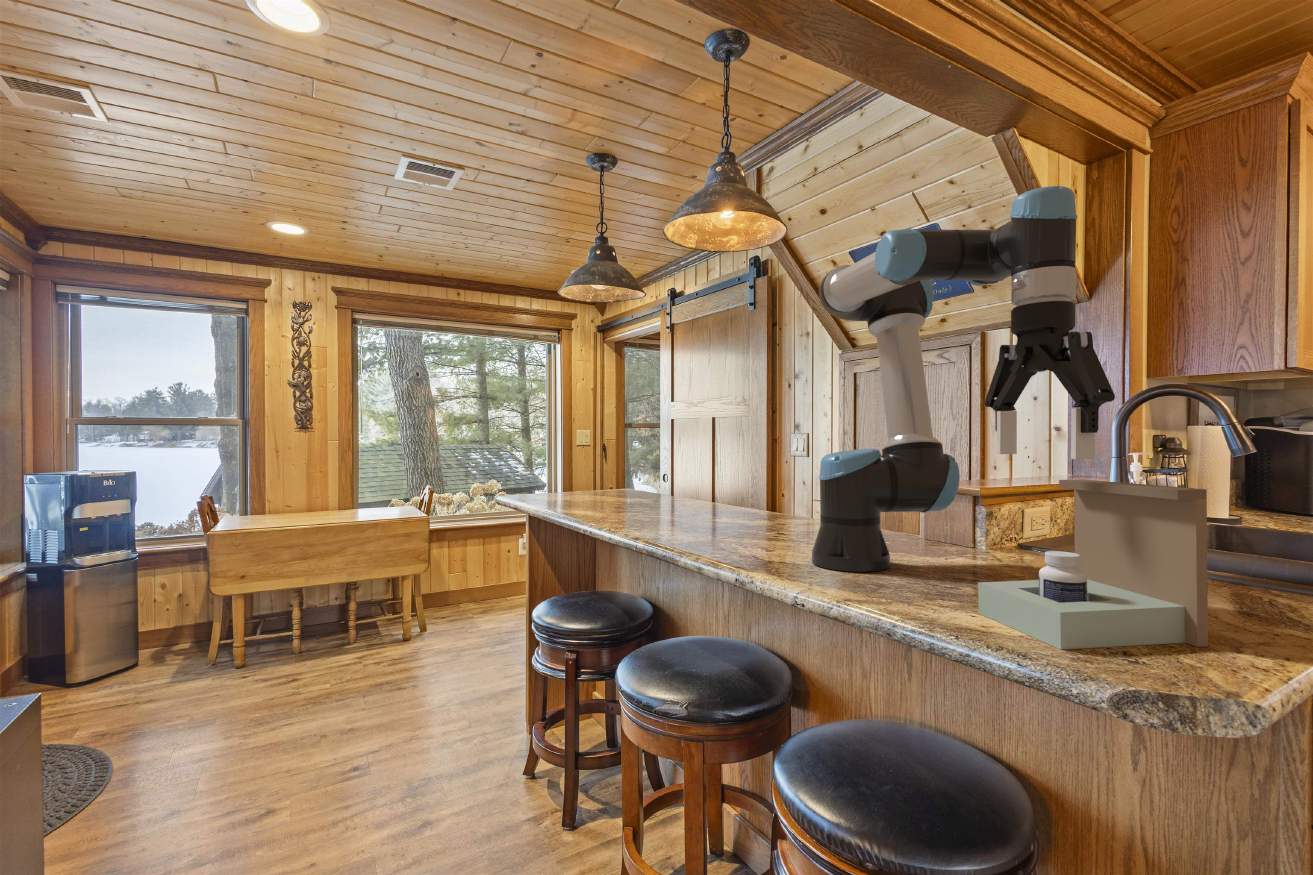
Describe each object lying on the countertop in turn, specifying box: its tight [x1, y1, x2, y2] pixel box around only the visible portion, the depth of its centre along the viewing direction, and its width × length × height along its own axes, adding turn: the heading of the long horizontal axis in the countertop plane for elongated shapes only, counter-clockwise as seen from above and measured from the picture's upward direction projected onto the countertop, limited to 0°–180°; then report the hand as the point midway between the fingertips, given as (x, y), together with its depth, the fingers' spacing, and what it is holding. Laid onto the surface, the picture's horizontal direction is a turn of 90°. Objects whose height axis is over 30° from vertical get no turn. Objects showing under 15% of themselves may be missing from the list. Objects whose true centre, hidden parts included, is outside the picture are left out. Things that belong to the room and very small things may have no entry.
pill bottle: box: [1038, 550, 1087, 603], centre depth 79 cm, size 5×5×10 cm
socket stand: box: [977, 478, 1209, 651], centre depth 80 cm, size 18×18×19 cm
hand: (1041, 456), depth 82 cm, fingers open, 13 cm apart
